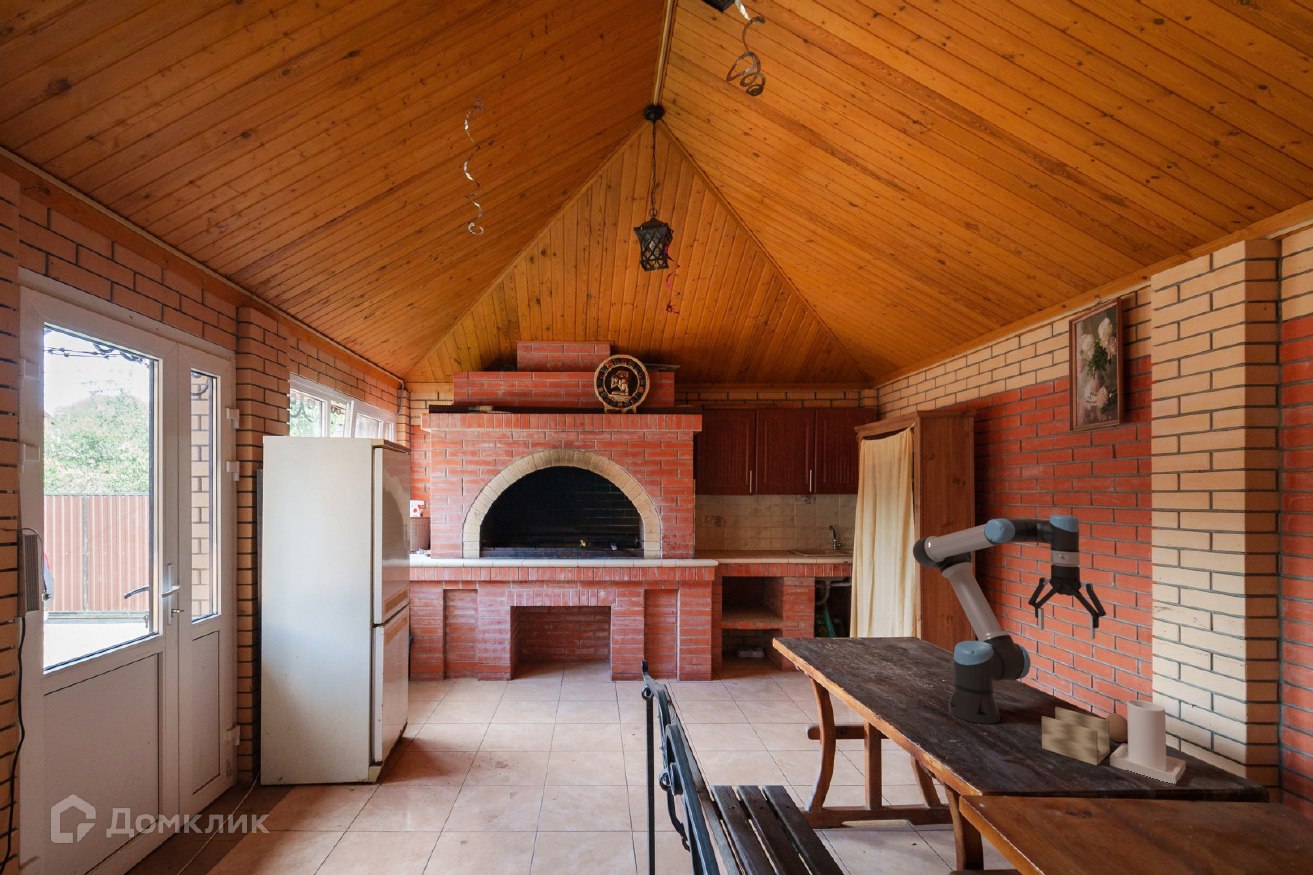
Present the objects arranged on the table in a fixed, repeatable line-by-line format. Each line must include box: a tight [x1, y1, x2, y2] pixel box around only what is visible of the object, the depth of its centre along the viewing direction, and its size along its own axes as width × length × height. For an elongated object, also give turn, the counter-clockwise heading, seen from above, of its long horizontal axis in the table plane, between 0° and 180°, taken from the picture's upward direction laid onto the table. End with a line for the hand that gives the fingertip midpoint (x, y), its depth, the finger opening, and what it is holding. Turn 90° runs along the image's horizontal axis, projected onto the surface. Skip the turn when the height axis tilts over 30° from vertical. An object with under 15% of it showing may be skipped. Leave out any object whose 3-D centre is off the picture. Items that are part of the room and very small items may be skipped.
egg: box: [1105, 712, 1128, 743], centre depth 184 cm, size 6×6×8 cm
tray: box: [1109, 742, 1187, 784], centre depth 166 cm, size 14×14×2 cm
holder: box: [1041, 706, 1111, 766], centre depth 176 cm, size 13×13×9 cm
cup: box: [1126, 699, 1167, 771], centre depth 167 cm, size 8×8×16 cm
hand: (1066, 633), depth 186 cm, fingers open, 13 cm apart
